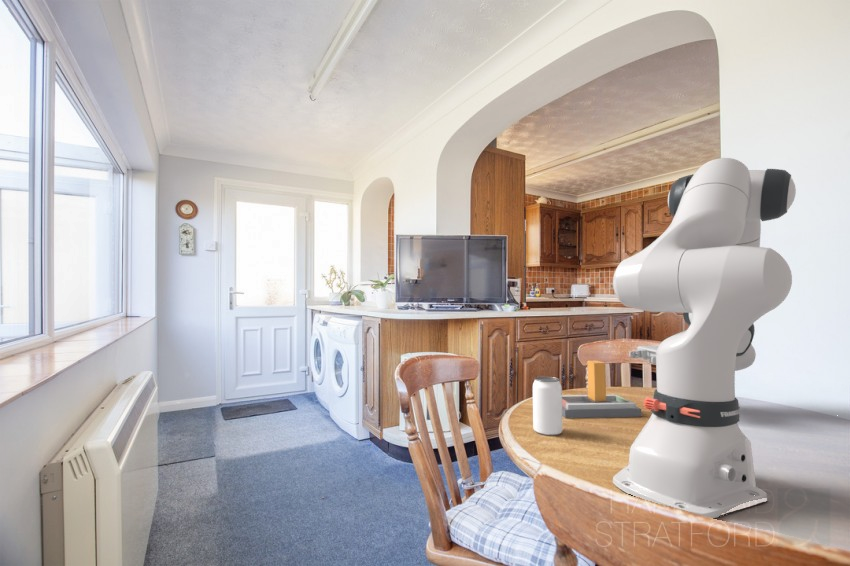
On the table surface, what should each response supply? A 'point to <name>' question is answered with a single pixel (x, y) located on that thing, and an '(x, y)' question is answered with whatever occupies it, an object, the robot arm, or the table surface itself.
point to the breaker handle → (596, 383)
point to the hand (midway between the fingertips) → (640, 357)
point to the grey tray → (598, 407)
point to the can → (547, 406)
